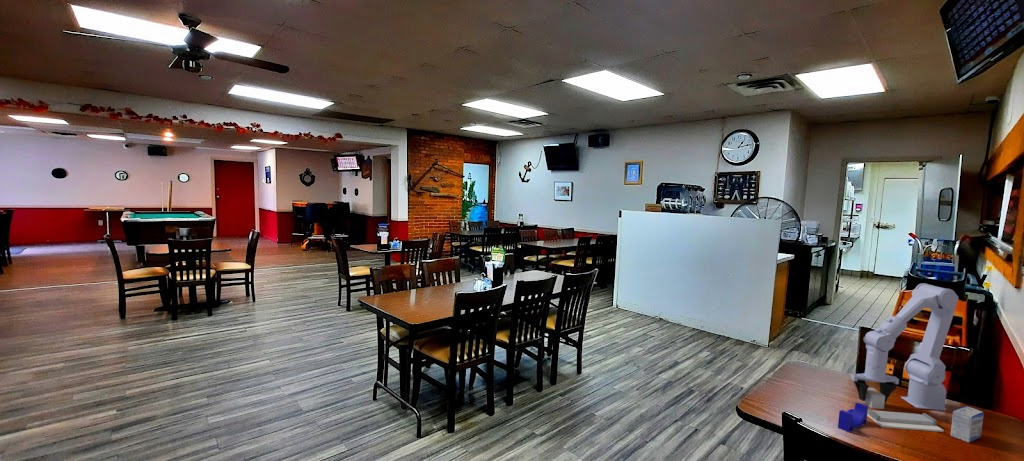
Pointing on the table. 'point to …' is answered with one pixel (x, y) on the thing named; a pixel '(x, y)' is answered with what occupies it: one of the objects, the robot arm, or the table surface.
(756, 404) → the table surface
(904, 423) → the rail board
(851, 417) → the cable clip
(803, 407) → the table surface
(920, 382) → the robot arm
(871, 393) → the block
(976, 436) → the medicine box
